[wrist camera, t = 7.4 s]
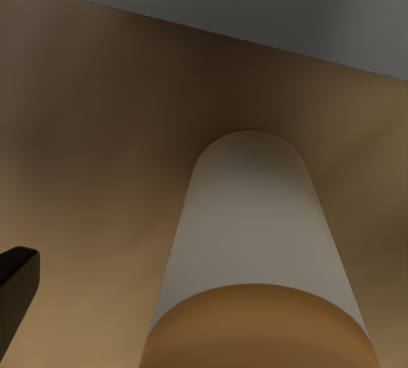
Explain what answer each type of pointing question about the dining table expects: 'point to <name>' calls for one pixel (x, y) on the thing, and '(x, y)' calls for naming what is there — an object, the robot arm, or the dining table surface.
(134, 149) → the dining table surface
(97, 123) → the dining table surface
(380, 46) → the header
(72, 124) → the dining table surface
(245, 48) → the dining table surface
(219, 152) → the plug
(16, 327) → the robot arm
